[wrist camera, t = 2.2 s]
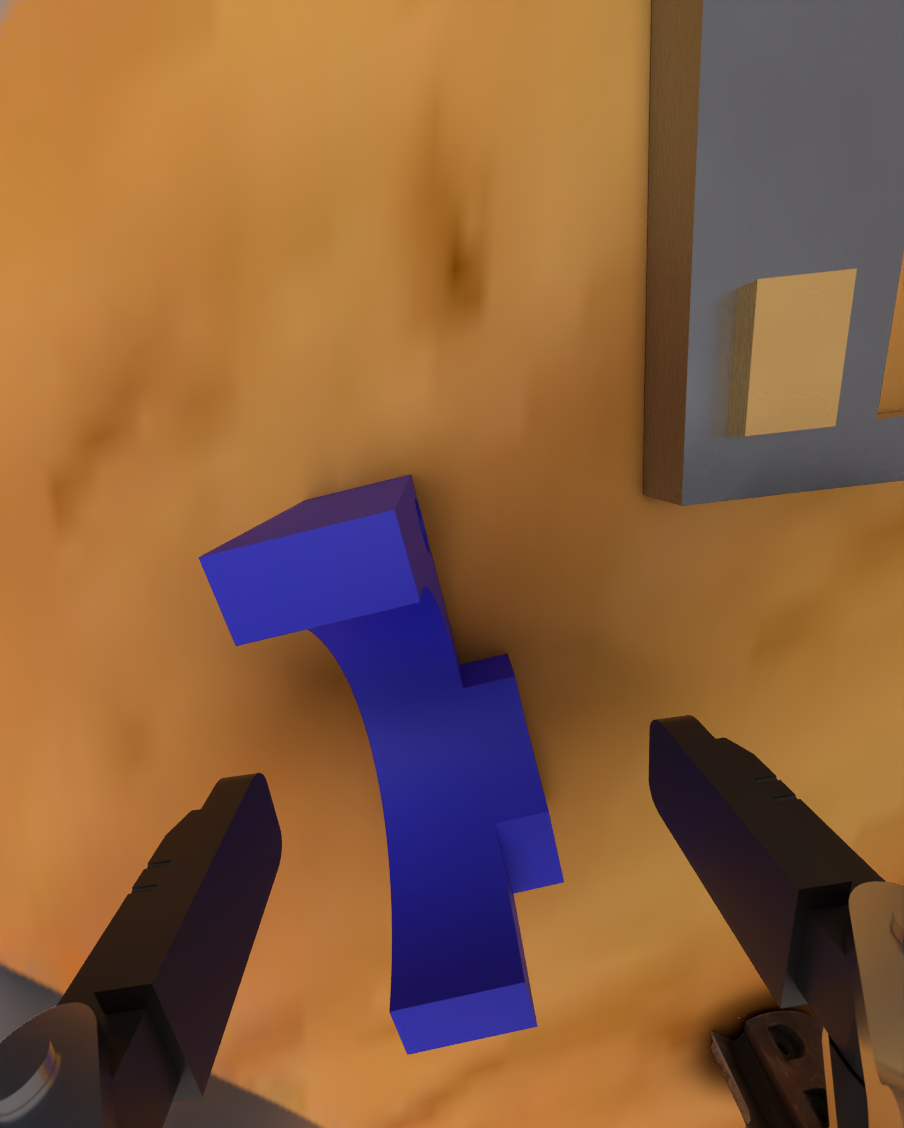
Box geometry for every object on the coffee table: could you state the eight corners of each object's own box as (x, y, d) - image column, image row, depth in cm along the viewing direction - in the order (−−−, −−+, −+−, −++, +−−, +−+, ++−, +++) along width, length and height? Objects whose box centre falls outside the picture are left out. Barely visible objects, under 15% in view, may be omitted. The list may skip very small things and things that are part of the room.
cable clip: (539, 799, 16) (602, 1011, 10) (415, 828, 16) (407, 1054, 10) (463, 460, 12) (494, 485, 6) (306, 499, 12) (198, 557, 7)
